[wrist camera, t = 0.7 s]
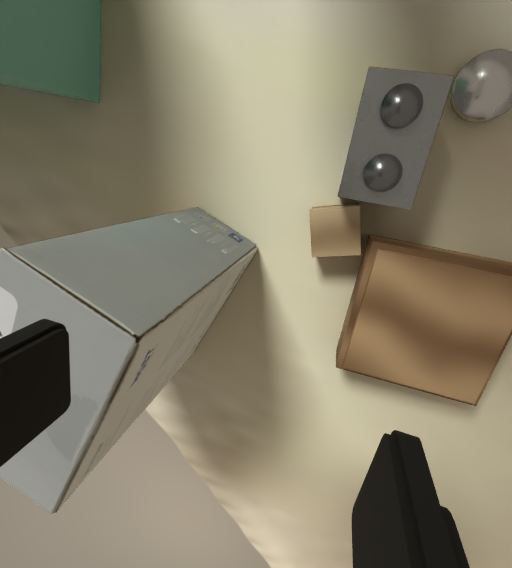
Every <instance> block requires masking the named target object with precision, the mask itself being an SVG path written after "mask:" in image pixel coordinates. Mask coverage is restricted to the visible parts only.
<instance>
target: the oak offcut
mask: <svg viewBox="0 0 512 568" xmlns="http://www.w3.org/2000/svg"><path fill="white" fill-rule="evenodd" d="M310 228H311V247H312V257H328V256H350V255H361V240H360V205H359V203H356V204H344V205H333V206H321V207H312V208H311V209H310Z"/></svg>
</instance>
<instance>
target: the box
mask: <svg viewBox="0 0 512 568" xmlns="http://www.w3.org/2000/svg"><path fill="white" fill-rule="evenodd" d="M100 30H101V0H0V84H1V85H7V86H12V87H17V88H23V89H28V90H33V91H39V92H44V93H49V94H55V95H60V96H65V97H71V98H76V99H81V100H87V101H92V102H97V103H99V102H100Z"/></svg>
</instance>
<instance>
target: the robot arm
mask: <svg viewBox="0 0 512 568" xmlns="http://www.w3.org/2000/svg"><path fill="white" fill-rule="evenodd" d="M70 403H71V386H70V353H69V333H68V331H66V327H65V326H64V325H63V324H61V323H58V322H55V321H52V320H48V319H41V320H39V321H36V322H34V323H32V324H30V325H28V326H26V327H24V328H22V329H19V330H17V331H15V332H13V333H11V334H9V335H7V336H4V337H2V338H0V467H1V466H2V465H4V464H5V463H6V462H7V461H8V460H10V459H11V458H12V457H13V456H14V455H15V454H17V453H18V452H19V451H20V450H21V449H23V448H24V447H25V446H26V445H27V444H28V443H30V442H31V441H32V440H33V439H34V438H36V437H37V436H38V435H39V434H40V433H41V432H43V431H44V430H45V429H46V428H47V427H49V426H50V425H51V424H52V423H53V422H54V421H56V420H57V419H58V418H59V417H60V416H62V415H63V414H64V413H65V412H66V411H67V409H68V408H69V406H70ZM352 548H353V568H470V567H469V564H468V561H467V558H466V555H465V552H464V549H463V546H462V543H461V540H460V537H459V534H458V531H457V528H456V524H455V521H454V519H453V517H452V514H451V513H450V511H449V510H448V509H447V508H445V507H442V506H440V504H439V500H438V497H437V494H436V490H435V487H434V484H433V480H432V477H431V474H430V470H429V467H428V463H427V460H426V457H425V453H424V450H423V447H422V443H421V441H420V439H419V438H418V437H415V436H412V435H409V434H406V433H403V432H400V431H397V430H394V431H393V432H392V433H391V435H389V434H386V433H385V434H384V435H383V437H382V439H381V441H380V444H379V446H378V449H377V451H376V453H375V456H374V458H373V461H372V463H371V465H370V468H369V470H368V473H367V475H366V477H365V480H364V482H363V485H362V487H361V489H360V492H359V494H358V497H357V499H356V501H355V504H354V507H353V512H352Z"/></svg>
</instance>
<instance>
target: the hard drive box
mask: <svg viewBox="0 0 512 568" xmlns="http://www.w3.org/2000/svg"><path fill="white" fill-rule="evenodd" d="M257 249H258V248H257V247H256V244H254V243H253V242H251V241H250V240H248V239H247V238H245V237H244V236H242V235H241V234H239V233H238V232H236V231H234V230H233V229H231V228H230V227H228V226H227V225H225V224H223V223H222V222H220V221H219V220H217V219H216V218H214V217H213V216H211V215H209V214H208V213H206V212H205V211H203V210H202V209H200V208H198V207H196V208H191V209H187V210H182V211H177V212H173V213H168V214H164V215H158V216H154V217H149V218H145V219H140V220H136V221H131V222H126V223H122V224H117V225H112V226H108V227H103V228H99V229H94V230H90V231H85V232H81V233H76V234H71V235H67V236H62V237H58V238H53V239H48V240H43V241H39V242H34V243H30V244H25V245H21V246H16V247H12V248H1V249H0V338H2V337H4V336H7V335H9V334H11V333H13V332H15V331H17V330H19V329H22V328H24V327H26V326H28V325H30V324H32V323H34V322H36V321H39V320H41V319H48V320H52V321H55V322H58V323H61V324H63V325H64V326H65V327H66V331H68V333H69V353H70V386H71V403H70V406H69V408H68V409H67V411H66V412H65V413H64V414H63V415H62V416H60V417H59V418H58V419H57V420H56V421H54V422H53V423H52V424H51V425H50V426H49V427H47V428H46V429H45V430H44V431H43V432H41V433H40V434H39V435H38V436H37V437H36V438H34V439H33V440H32V441H31V442H30V443H28V444H27V445H26V446H25V447H24V448H23V449H21V450H20V451H19V452H18V453H17V454H15V455H14V456H13V457H12V458H11V459H10V460H8V461H7V462H6V463H5V464H4V465H2V466H1V467H0V478H1V479H3V480H4V481H5V482H7V483H8V484H10V485H11V486H12V487H14V488H15V489H16V490H18V491H20V492H21V493H22V494H23V495H25V496H26V497H28V498H29V499H30V500H32V501H33V502H35V503H36V504H37V505H39V506H40V507H42V508H43V509H44V510H46V511H47V512H48V513H50V514H53V513H55V512H57V511H58V510H59V509H60V508H61V506H62V505H63V504H64V503H65V502H66V500H67V499H68V498H69V497H70V496H71V494H72V493H73V492H74V491H75V490H76V488H78V486H79V485H80V484H81V483H82V482H83V480H84V479H85V478H86V477H87V476H88V475H89V473H90V472H91V471H92V470H93V469H94V467H95V466H96V465H97V464H98V463H99V462H100V461H101V459H102V458H103V457H104V456H105V455H106V453H107V452H108V451H109V450H110V449H111V448H112V447H113V445H114V444H115V443H116V442H117V441H118V440H119V438H120V437H121V436H122V435H123V434H124V433H125V432H126V430H127V429H128V428H129V427H130V426H131V424H132V423H133V422H134V421H135V420H136V419H137V418H138V417H139V415H140V414H141V413H142V412H143V411H144V410H145V408H146V407H147V406H148V405H149V404H150V403H151V402H152V400H153V399H154V398H155V397H156V396H157V395H158V393H159V392H160V391H161V390H162V389H163V388H164V386H165V385H166V384H167V383H168V382H169V381H170V379H171V378H172V377H173V376H174V375H175V374H176V372H177V371H178V370H179V369H180V368H181V367H182V366H183V364H184V363H185V362H186V361H187V360H188V359H189V357H190V356H191V355H192V354H193V352H194V351H195V349H196V348H197V346H198V344H199V343H200V341H201V339H202V338H203V336H204V335H205V333H206V332H207V330H208V328H209V327H210V325H211V323H212V322H213V320H214V318H215V317H216V315H217V314H218V312H219V311H220V309H221V307H222V306H223V304H224V303H225V301H226V299H227V298H228V296H229V295H230V293H231V291H232V290H233V288H234V287H235V285H236V283H237V282H238V280H239V279H240V277H241V275H242V274H243V272H244V271H245V269H246V267H247V266H248V264H249V262H250V261H251V259H252V258H253V256H254V254H255V253H256V251H257Z"/></svg>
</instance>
